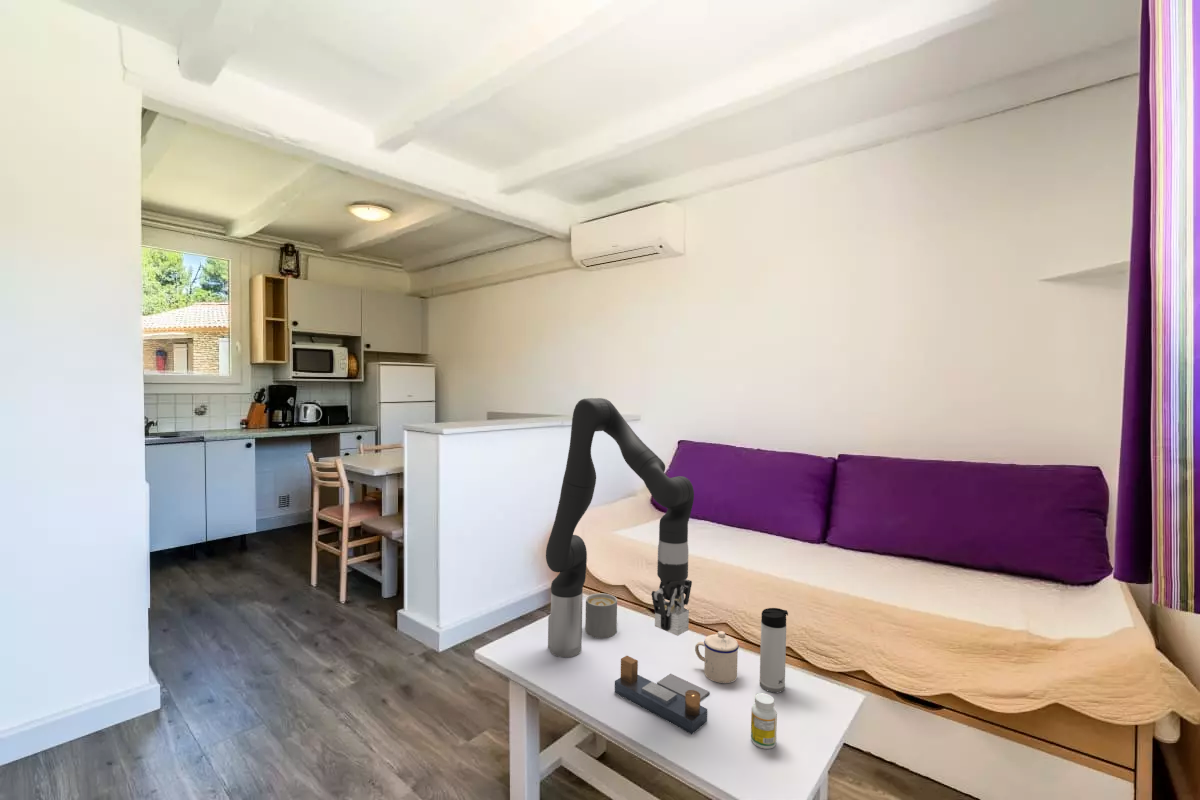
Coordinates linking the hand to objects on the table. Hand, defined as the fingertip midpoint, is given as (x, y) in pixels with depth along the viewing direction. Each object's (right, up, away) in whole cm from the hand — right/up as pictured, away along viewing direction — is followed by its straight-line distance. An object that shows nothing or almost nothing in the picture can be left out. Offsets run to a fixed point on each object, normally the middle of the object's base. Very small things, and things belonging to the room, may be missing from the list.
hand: (671, 626), depth 131 cm
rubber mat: (+4, -18, +5) cm, 19 cm away
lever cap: (0, 0, 0) cm, 0 cm away
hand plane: (-3, -18, -3) cm, 19 cm away
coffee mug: (-16, -17, +38) cm, 45 cm away
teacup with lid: (+14, -18, +13) cm, 26 cm away
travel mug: (+27, -19, +7) cm, 34 cm away
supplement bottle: (+18, -19, -15) cm, 30 cm away
